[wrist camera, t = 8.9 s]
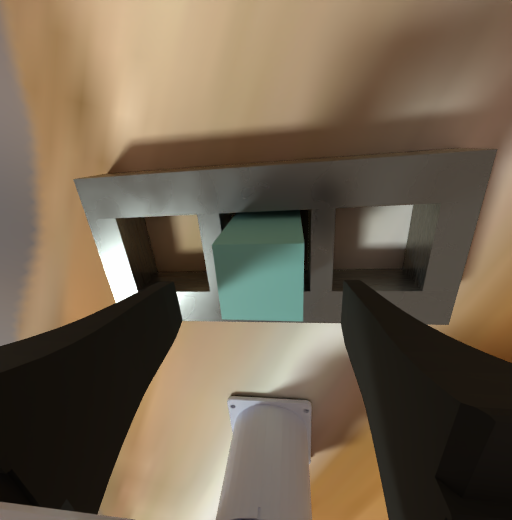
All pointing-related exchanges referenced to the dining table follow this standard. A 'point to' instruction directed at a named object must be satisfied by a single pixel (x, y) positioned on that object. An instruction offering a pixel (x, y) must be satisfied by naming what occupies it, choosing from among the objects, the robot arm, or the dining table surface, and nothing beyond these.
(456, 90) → the dining table surface
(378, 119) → the dining table surface
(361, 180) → the rail
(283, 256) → the square peg
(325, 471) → the dining table surface
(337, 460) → the dining table surface
